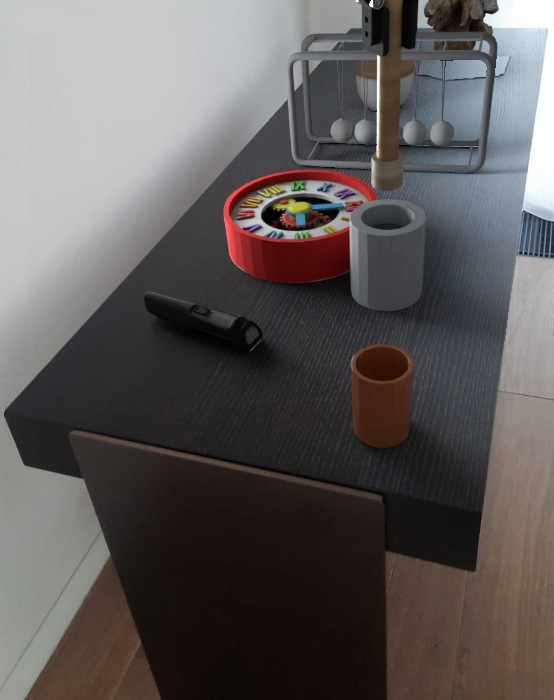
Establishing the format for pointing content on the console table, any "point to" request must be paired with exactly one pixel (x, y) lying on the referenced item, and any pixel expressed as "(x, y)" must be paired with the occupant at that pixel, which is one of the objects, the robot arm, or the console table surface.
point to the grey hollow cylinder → (387, 254)
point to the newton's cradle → (414, 129)
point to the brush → (389, 108)
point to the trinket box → (405, 83)
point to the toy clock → (294, 224)
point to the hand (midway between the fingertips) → (389, 47)
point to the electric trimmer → (205, 320)
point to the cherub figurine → (459, 19)
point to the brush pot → (382, 395)
